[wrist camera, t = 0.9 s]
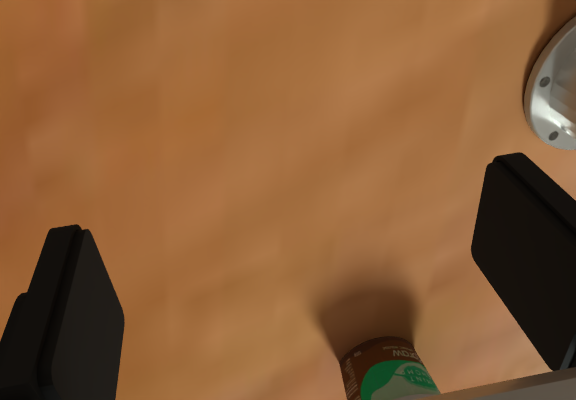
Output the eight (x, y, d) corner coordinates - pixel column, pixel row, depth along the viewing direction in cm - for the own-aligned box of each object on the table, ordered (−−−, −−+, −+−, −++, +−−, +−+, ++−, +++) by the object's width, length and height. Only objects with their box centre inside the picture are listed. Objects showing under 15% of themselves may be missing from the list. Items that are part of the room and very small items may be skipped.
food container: (444, 333, 57) (488, 413, 49) (419, 367, 60) (458, 448, 52) (348, 325, 52) (379, 412, 44) (327, 362, 56) (353, 449, 48)
